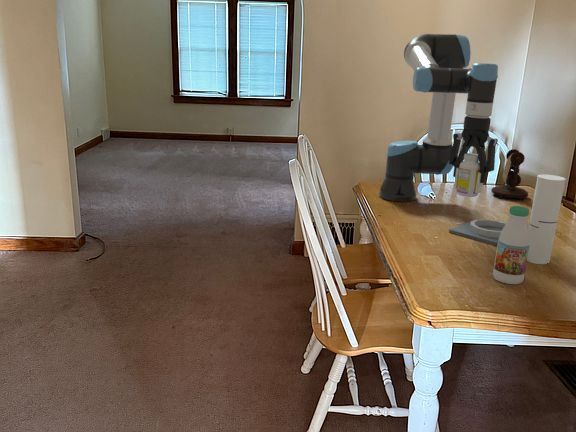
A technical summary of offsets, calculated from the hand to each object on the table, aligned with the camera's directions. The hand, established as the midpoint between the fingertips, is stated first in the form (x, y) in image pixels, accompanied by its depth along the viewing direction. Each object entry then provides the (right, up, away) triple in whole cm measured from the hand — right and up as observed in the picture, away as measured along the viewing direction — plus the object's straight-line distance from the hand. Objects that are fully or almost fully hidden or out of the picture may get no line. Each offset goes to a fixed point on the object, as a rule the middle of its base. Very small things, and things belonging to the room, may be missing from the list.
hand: (467, 189), depth 166 cm
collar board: (+12, -14, +12) cm, 22 cm away
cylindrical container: (+17, -21, -10) cm, 29 cm away
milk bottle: (+2, -25, -25) cm, 35 cm away
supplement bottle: (0, -2, 0) cm, 2 cm away
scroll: (+39, 0, +61) cm, 73 cm away
